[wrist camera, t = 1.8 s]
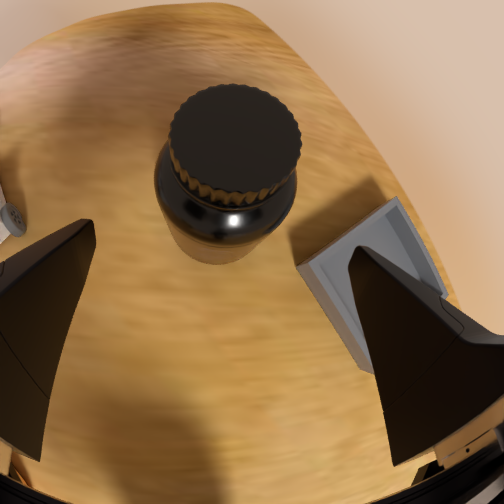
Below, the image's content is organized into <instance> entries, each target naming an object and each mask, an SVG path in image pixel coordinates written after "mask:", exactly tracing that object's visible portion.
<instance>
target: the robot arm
mask: <svg viewBox="0 0 504 504" xmlns="http://www.w3.org/2000/svg"><path fill="white" fill-rule="evenodd" d="M95 248H96V236H95V229H94V223H93V221H92V220H91V219H80V220H78V221H75V222H73V223H71V224H69V225H67V226H66V227H64V228H62V229H60V230H58V231H56V232H54V233H52V234H50V235H48V236H46V237H45V238H43V239H41V240H39V241H37V242H35V243H34V244H32V245H30V246H28V247H26V248H25V249H23V250H21V251H20V252H18V253H16V254H14V255H13V256H11V257H9V258H8V259H6V260H5V261H3V262H1V263H0V504H72V503H69V502H66V501H64V500H61V499H58V498H55V497H53V496H50V495H48V494H45V493H43V492H40V491H38V490H36V489H33V488H31V487H29V486H27V485H25V484H23V483H22V481H21V479H20V477H19V476H18V474H17V472H16V470H15V468H14V466H13V464H12V462H10V461H11V456H12V450H13V451H15V452H17V453H19V454H21V455H23V456H26V457H28V458H30V459H33V460H35V461H38V462H40V458H41V450H42V442H43V435H44V429H45V423H46V417H47V412H48V407H49V402H50V401H49V400H50V396H51V392H52V387H53V383H54V379H55V375H56V371H57V367H58V363H59V360H60V356H61V353H62V349H63V346H64V343H65V339H66V336H67V333H68V330H69V327H70V324H71V321H72V318H73V315H74V312H75V309H76V307H77V304H78V301H79V299H80V296H81V293H82V291H83V288H84V285H85V282H86V279H87V275H88V271H89V268H90V265H91V261H92V258H93V255H94V251H95ZM348 273H349V278H350V282H351V287H352V292H353V297H354V302H355V306H356V310H357V313H358V316H359V320H360V323H361V326H362V330H363V333H364V337H365V341H366V344H367V348H368V351H369V355H370V359H371V363H372V367H373V371H374V375H375V379H376V383H377V387H378V391H379V396H380V400H381V405H382V409H383V411H384V412H383V414H384V419H385V424H386V429H387V434H388V440H389V445H390V451H391V457H392V463H393V466H394V467H395V466H398V465H401V464H403V463H406V462H409V461H411V460H414V459H416V458H419V457H421V456H423V455H426V454H428V453H430V452H432V451H434V452H435V455H436V458H437V460H435V461H432V462H430V463H428V464H426V465H424V466H422V467H420V468H419V469H418V471H417V474H416V476H415V478H414V480H413V482H412V484H411V486H410V487H408V488H406V489H403V490H401V491H398V492H396V493H393V494H391V495H388V496H385V497H383V498H380V499H377V500H374V501H371V502H368V503H365V504H504V335H497V334H494V333H492V332H490V331H489V330H487V329H486V328H484V327H483V326H482V325H480V324H478V323H477V322H476V321H474V320H473V319H471V318H470V317H469V316H467V315H466V314H464V313H463V312H462V311H460V310H459V309H457V308H456V307H454V306H453V305H452V304H450V303H449V302H448V301H446V300H445V299H443V298H442V297H441V296H438V294H437V293H435V292H434V291H432V290H431V289H430V288H428V287H427V286H425V285H424V284H423V283H421V282H420V281H418V280H417V279H416V278H414V277H413V276H411V275H410V274H408V273H407V272H405V271H404V270H403V269H401V268H400V267H398V266H397V265H395V264H394V263H392V262H391V261H389V260H388V259H386V258H385V257H383V256H382V255H380V254H379V253H377V252H376V251H374V250H373V249H371V248H369V247H368V246H361V245H358V246H356V248H355V249H354V252H353V254H352V257H351V259H350V261H349V264H348Z"/></svg>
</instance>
